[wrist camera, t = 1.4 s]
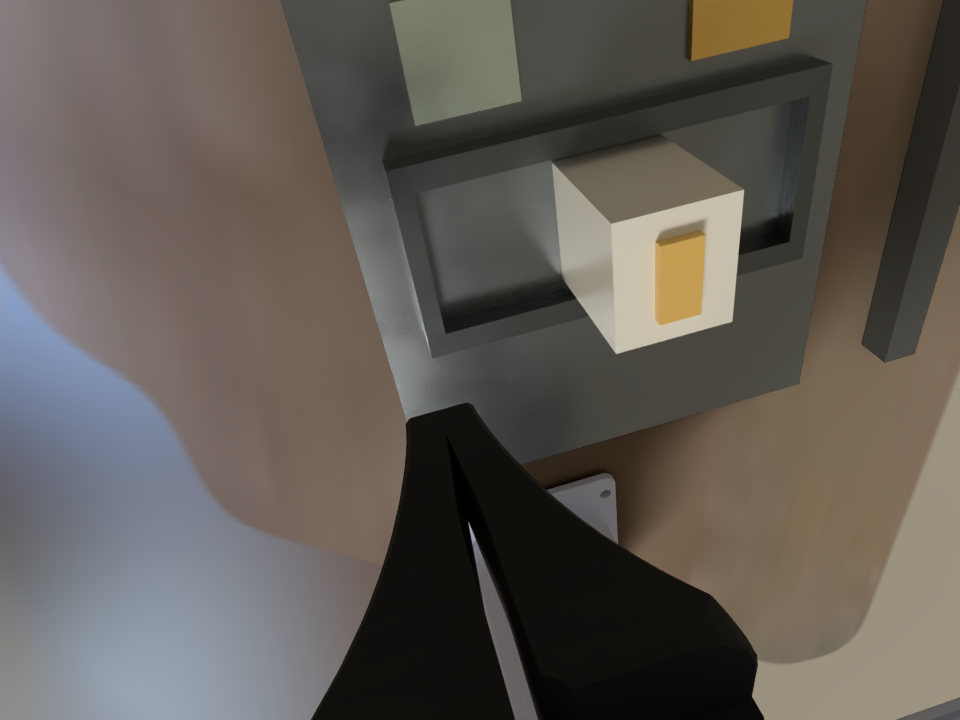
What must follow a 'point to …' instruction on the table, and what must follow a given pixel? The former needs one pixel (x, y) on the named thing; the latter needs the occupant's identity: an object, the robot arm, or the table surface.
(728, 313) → the toggle
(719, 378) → the panel
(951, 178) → the dark gray bar
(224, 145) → the table surface
